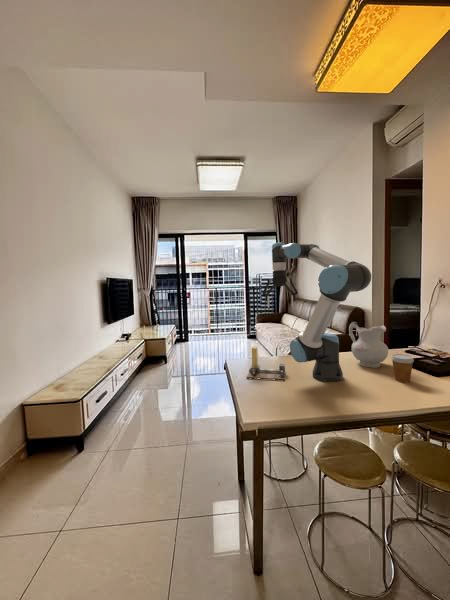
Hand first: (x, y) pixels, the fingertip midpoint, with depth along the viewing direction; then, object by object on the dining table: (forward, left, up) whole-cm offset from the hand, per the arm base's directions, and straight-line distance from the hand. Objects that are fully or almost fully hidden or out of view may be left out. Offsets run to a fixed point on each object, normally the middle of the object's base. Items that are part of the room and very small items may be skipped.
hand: (280, 306), depth 155 cm
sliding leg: (+15, +12, -35) cm, 40 cm away
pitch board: (+8, +13, -37) cm, 40 cm away
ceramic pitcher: (-49, -15, -37) cm, 63 cm away
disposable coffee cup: (-59, +10, -37) cm, 70 cm away
